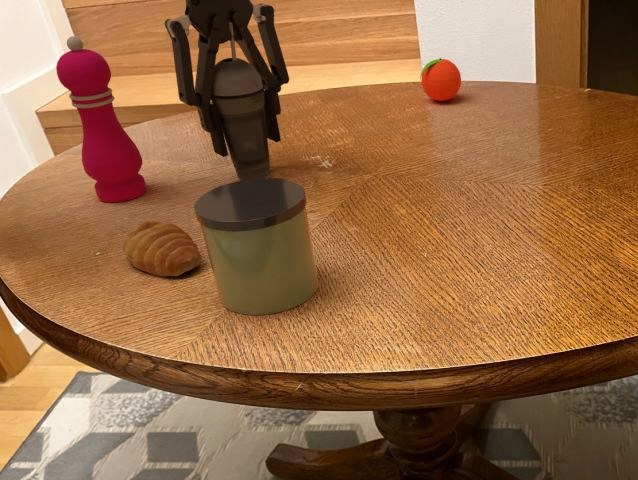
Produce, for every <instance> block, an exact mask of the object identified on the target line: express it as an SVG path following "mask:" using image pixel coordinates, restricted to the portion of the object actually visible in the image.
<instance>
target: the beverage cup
mask: <svg viewBox="0 0 638 480" xmlns="http://www.w3.org/2000/svg"><path fill="white" fill-rule="evenodd" d="M229 26H230V30H231V34H232V41H230V43H229V44H230V49H231V50H230V51H231V57H227V58H223V59H221V60H220V61H218V62H217V63H215V70H214V78H213V87H212V95H211V104H213V105H215V106H217V107H218V112H219V116H220V121H221V125H222V129H223V134H224V138H225V143H226V147H227V151H228V154H229V156H230V159H231V162H232V165H233V168H234V170H235V172H236V175H237V178H238V179H239V181H241V180H247V179H256V178H268V177H269V176H270V175H271V165H270V162H271V161H270V160H271V159H270V150H269V142H268V141H269V140H268V138H267V130H266V121H265V112H264V90H265V87H264V85H263V83H262V80H261V77H260V75H259V74H258V72H257V71H256V70H255V68H254V67H253V66H252V65H250V64H249V62H248V61H246V60H245V59H242V58H239V57H237V52H236V51H237V49H236V42H235V41H234V38H233V23H232V22H229Z"/></svg>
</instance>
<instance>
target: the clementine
mask: <svg viewBox="0 0 638 480" xmlns="http://www.w3.org/2000/svg"><path fill="white" fill-rule="evenodd" d="M419 77H420V80H421V86H422V89H423V92H424V93H425V94H426V95H427V96H428V97H429V98H430V99H432V100H434V101H436V102H446V101H449V100H452V99H453V98H455V96H456V95H457V94H458V92H459V91H460V89H461V86H462V75H461V72H460V70H459V67H458V66H456V64H455V63H454V62H452V61H450V60H449V59H445V58H442V57H439V58H436V59H433V60H430V61H429V62H427V63H426V64H425V65H424V67H423V68H422V70H421V72H420V76H419Z"/></svg>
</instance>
